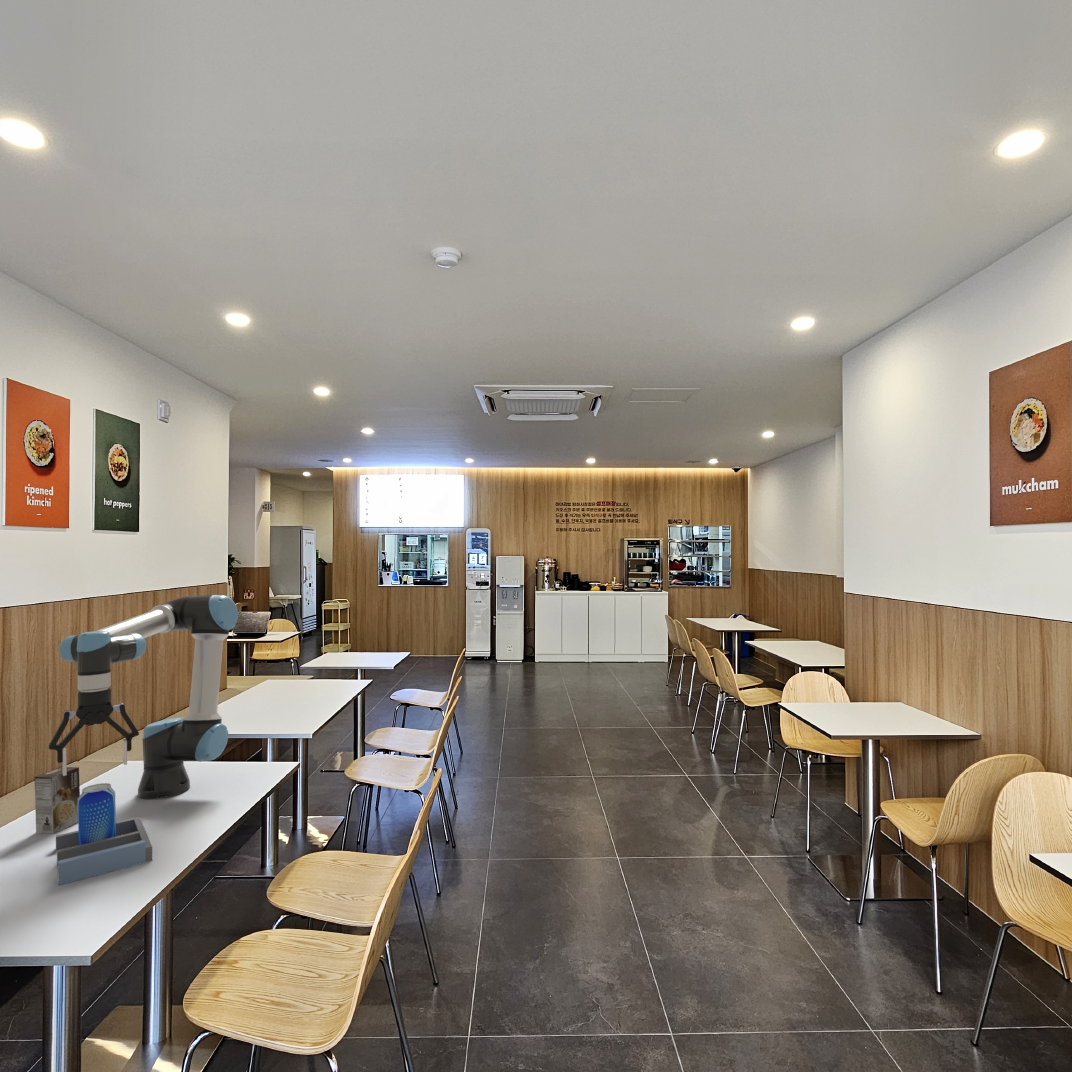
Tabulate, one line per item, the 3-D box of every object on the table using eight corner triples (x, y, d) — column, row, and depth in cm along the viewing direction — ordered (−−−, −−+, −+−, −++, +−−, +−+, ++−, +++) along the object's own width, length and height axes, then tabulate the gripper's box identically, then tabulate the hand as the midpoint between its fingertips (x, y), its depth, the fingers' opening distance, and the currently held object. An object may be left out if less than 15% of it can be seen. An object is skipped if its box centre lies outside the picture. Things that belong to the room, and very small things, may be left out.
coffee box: (63, 820, 202) (62, 766, 202) (81, 821, 200) (80, 766, 201) (34, 833, 193) (33, 776, 193) (53, 834, 191) (52, 777, 192)
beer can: (76, 857, 175) (75, 795, 176) (81, 845, 183) (80, 785, 183) (114, 849, 179) (113, 788, 180) (117, 838, 187) (116, 779, 187)
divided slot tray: (139, 828, 193) (139, 811, 193) (152, 860, 172) (152, 840, 172) (55, 848, 181) (55, 829, 181) (58, 885, 160) (58, 863, 160)
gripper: (145, 681, 193) (146, 756, 192) (36, 694, 178) (37, 775, 177) (149, 684, 187) (150, 762, 186) (37, 698, 172) (37, 782, 171)
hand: (95, 769), depth 181 cm, fingers open, 13 cm apart
